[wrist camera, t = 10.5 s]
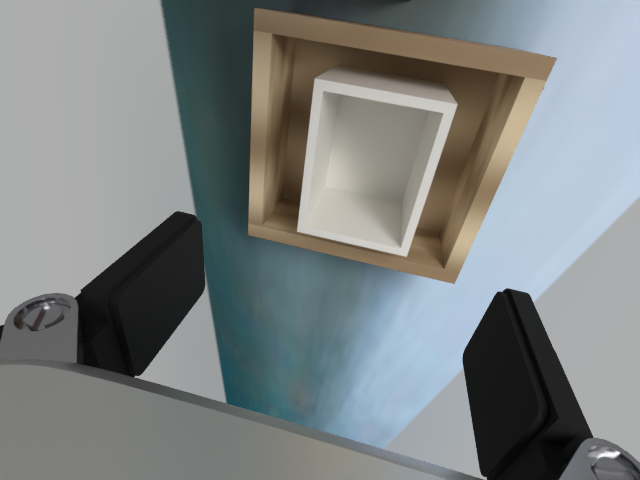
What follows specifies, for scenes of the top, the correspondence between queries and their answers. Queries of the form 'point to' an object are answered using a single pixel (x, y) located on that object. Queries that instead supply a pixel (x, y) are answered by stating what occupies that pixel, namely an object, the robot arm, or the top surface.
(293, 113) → the pine crate
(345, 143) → the cream crate
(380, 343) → the top surface
